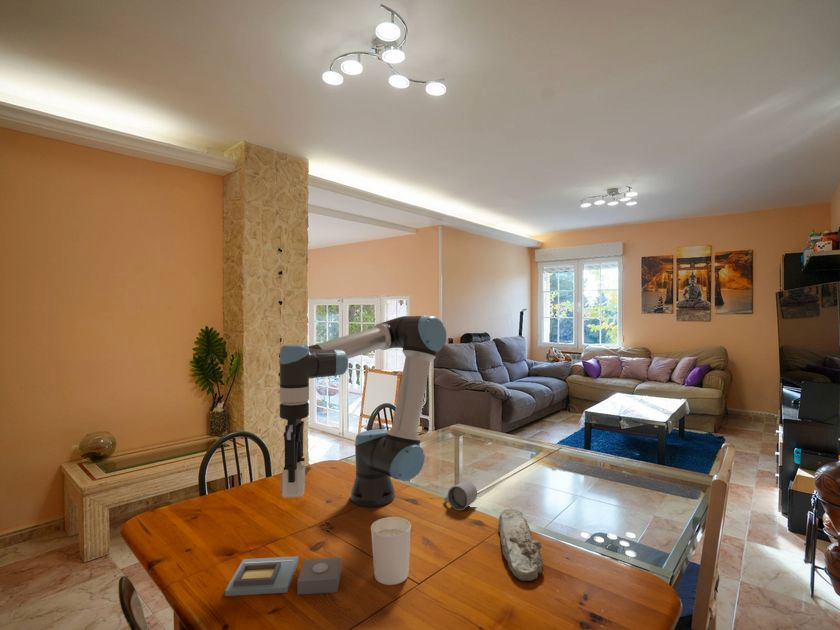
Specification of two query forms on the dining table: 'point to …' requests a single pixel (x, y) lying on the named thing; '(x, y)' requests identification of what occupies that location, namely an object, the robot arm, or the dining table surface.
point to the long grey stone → (519, 545)
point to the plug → (300, 482)
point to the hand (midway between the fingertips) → (294, 489)
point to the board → (263, 576)
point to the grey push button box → (319, 576)
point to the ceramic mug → (461, 495)
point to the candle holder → (391, 549)
